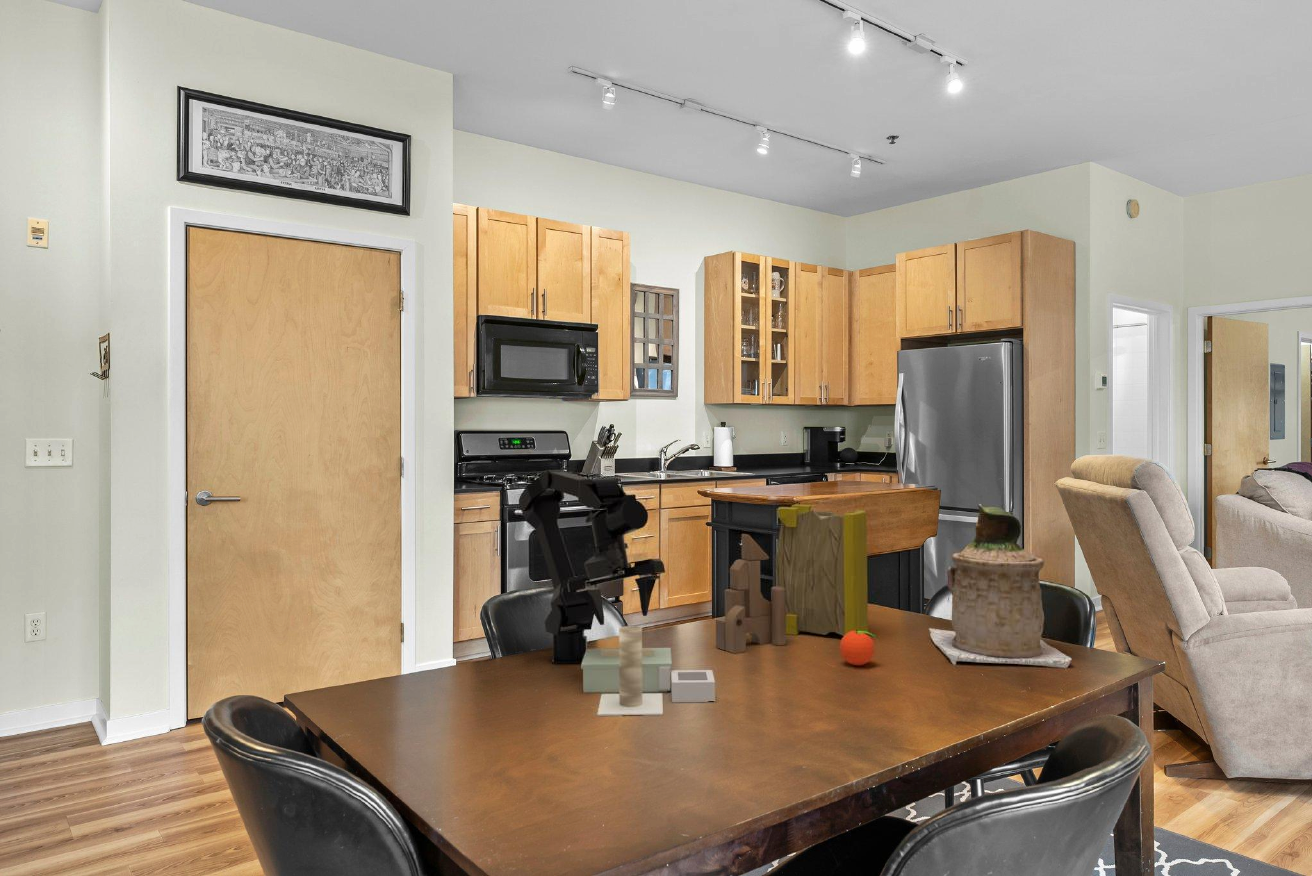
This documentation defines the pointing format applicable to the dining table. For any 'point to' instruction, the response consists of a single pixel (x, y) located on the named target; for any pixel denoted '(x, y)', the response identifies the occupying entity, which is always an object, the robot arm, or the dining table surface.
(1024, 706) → the dining table surface
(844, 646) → the clementine
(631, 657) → the beige cylinder
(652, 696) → the mat
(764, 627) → the wooden toy
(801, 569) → the decorative book
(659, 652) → the pale green box
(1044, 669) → the dining table surface
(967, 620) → the cookie jar
